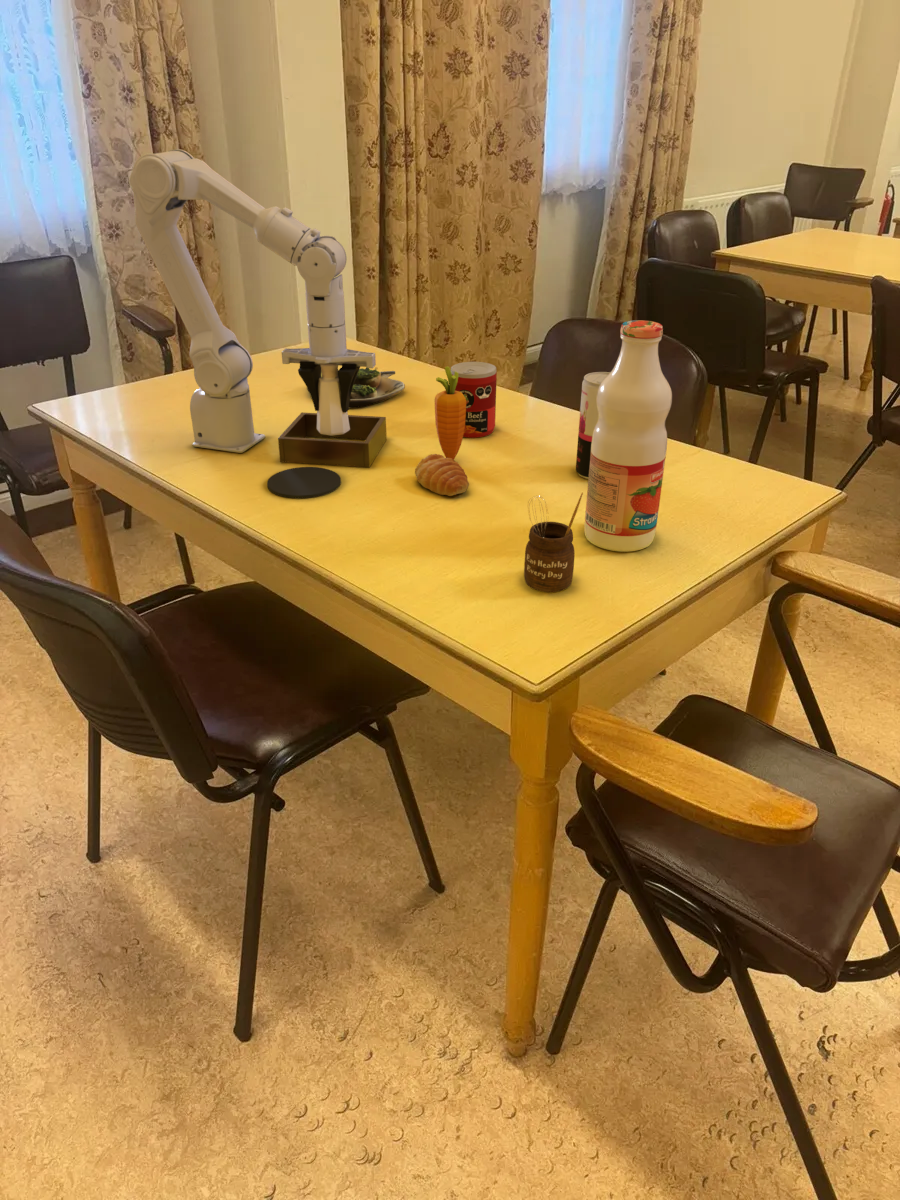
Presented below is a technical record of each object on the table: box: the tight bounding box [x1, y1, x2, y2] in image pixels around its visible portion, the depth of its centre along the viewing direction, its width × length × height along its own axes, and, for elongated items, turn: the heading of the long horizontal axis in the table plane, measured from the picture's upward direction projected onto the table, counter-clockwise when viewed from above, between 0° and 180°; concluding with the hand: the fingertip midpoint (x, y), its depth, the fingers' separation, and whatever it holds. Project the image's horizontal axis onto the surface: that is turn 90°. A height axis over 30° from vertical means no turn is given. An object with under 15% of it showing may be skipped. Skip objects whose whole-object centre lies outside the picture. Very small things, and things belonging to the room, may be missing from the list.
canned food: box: [450, 361, 498, 439], centre depth 152 cm, size 8×8×11 cm
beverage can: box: [575, 371, 611, 480], centre depth 135 cm, size 7×6×15 cm
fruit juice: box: [583, 319, 673, 553], centre depth 113 cm, size 9×9×28 cm
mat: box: [266, 466, 342, 499], centre depth 135 cm, size 11×11×1 cm
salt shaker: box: [316, 363, 350, 436], centre depth 142 cm, size 5×5×11 cm
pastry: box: [414, 453, 470, 497], centre depth 133 cm, size 9×7×4 cm
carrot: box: [434, 365, 466, 461], centre depth 139 cm, size 5×5×15 cm
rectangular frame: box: [277, 412, 388, 469], centre depth 146 cm, size 15×13×4 cm
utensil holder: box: [523, 492, 584, 593], centre depth 106 cm, size 6×6×12 cm
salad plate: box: [306, 367, 406, 409], centre depth 173 cm, size 19×18×5 cm
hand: (331, 409), depth 143 cm, fingers closed on salt shaker, 4 cm apart
